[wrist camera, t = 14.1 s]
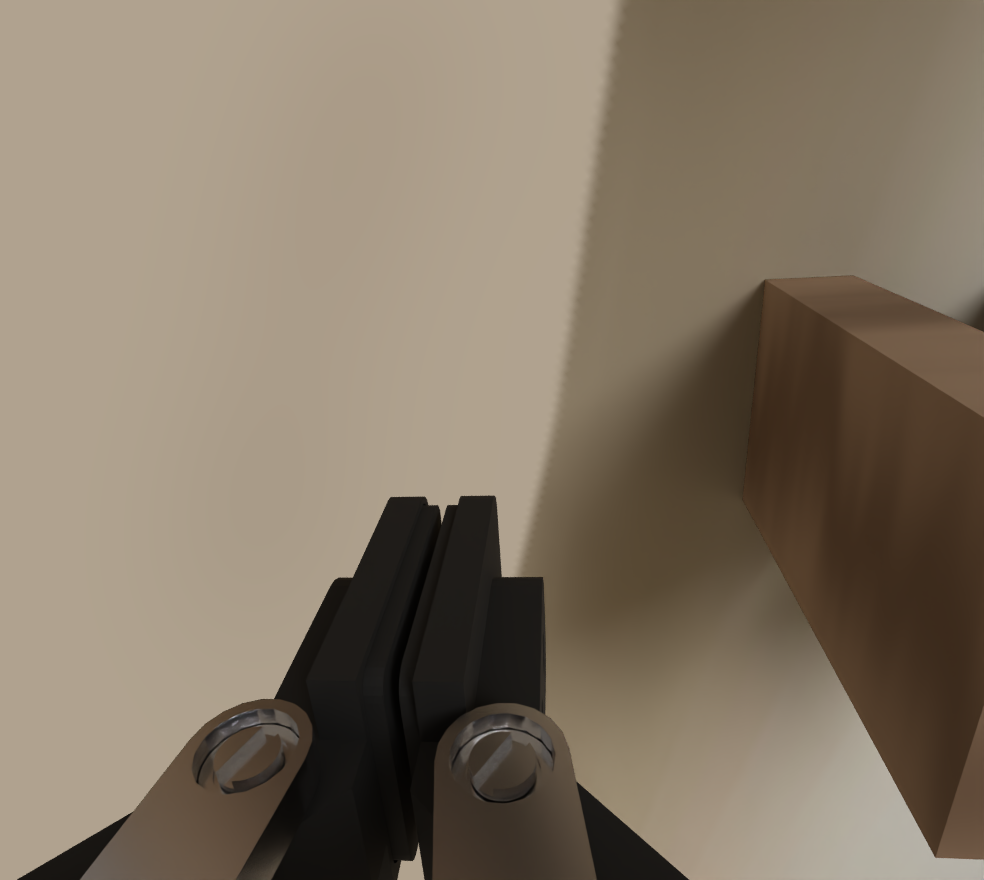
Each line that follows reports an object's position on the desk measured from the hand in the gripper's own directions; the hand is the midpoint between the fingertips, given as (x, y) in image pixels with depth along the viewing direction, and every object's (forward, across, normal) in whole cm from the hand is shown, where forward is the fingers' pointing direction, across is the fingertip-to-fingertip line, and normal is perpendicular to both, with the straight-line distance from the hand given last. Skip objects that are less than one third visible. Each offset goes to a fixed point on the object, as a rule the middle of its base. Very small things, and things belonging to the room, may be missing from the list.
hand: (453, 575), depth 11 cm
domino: (+8, -8, 0) cm, 11 cm away
